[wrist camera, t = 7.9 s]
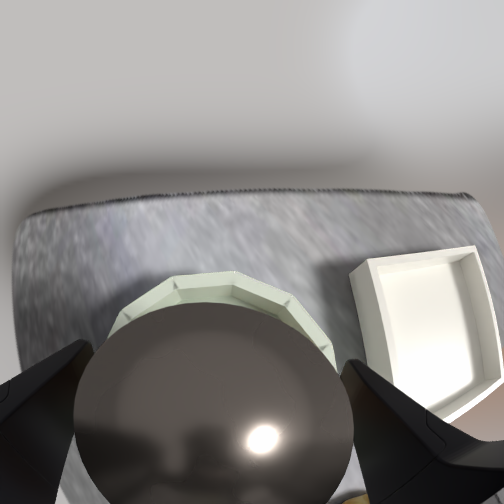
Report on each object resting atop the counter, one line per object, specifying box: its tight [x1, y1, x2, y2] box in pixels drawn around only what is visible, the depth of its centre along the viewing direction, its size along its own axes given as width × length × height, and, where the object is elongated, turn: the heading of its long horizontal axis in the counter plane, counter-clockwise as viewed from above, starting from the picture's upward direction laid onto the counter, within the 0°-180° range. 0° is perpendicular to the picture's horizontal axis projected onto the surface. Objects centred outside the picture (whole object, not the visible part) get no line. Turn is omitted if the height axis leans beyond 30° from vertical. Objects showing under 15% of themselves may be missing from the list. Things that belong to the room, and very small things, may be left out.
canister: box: [73, 302, 354, 504], centre depth 10 cm, size 5×5×12 cm
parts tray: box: [349, 245, 504, 423], centre depth 17 cm, size 13×13×3 cm
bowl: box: [106, 271, 337, 372], centre depth 14 cm, size 13×13×3 cm
